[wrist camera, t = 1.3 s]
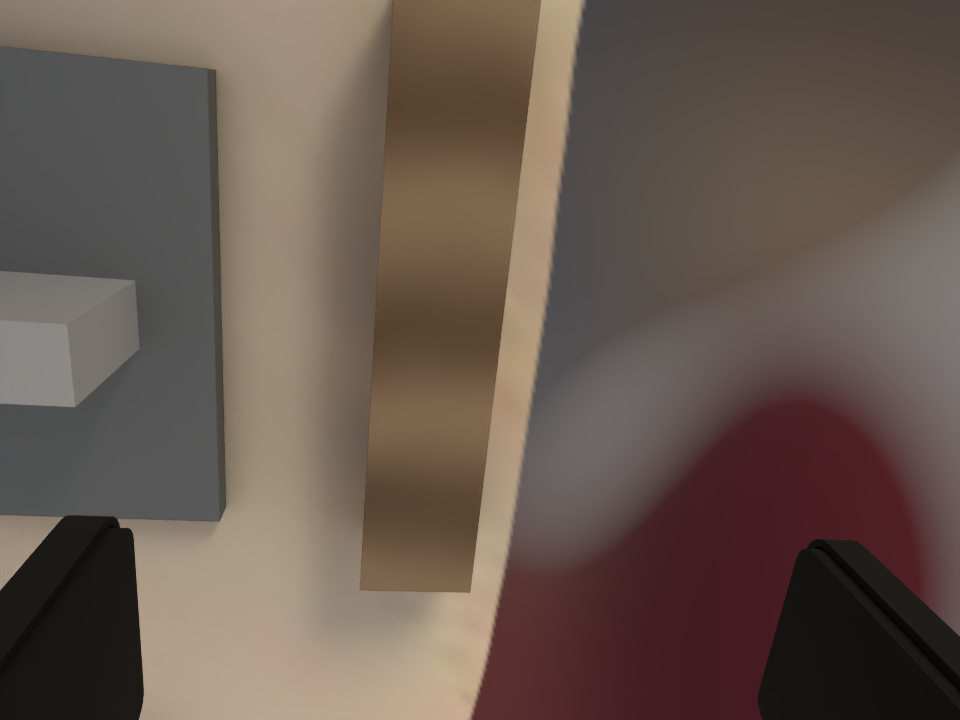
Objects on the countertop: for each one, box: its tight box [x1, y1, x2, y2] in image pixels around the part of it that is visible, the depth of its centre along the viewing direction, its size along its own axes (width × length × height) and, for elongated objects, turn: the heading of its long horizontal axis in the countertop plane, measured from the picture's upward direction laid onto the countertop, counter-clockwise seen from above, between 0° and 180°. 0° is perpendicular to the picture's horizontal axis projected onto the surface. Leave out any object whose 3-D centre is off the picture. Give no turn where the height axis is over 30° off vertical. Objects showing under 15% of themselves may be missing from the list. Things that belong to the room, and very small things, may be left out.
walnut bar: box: [360, 0, 541, 593], centre depth 24 cm, size 20×4×4 cm, turn 174°
